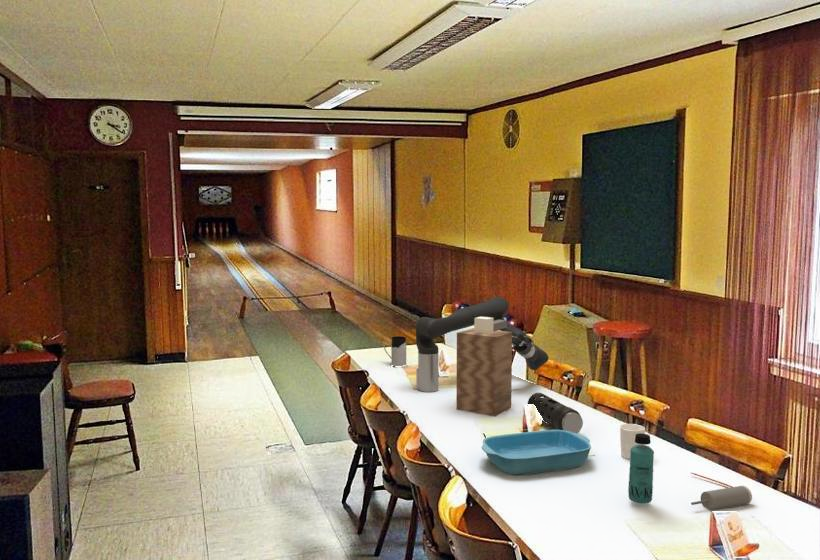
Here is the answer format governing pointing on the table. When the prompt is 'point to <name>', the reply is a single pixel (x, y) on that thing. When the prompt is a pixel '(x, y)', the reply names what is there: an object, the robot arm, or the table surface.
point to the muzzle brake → (557, 413)
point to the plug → (488, 325)
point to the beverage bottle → (641, 470)
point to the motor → (724, 496)
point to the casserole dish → (537, 451)
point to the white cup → (629, 437)
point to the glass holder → (397, 350)
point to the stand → (484, 372)
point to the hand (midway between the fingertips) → (510, 334)
